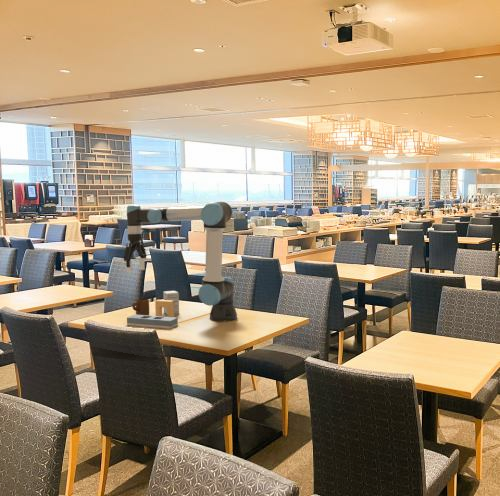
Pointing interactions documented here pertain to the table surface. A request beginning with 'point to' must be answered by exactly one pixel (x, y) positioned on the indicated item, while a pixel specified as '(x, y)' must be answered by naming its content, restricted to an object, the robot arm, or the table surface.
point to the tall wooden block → (165, 304)
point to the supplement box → (173, 297)
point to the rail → (152, 321)
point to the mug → (141, 306)
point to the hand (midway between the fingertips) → (135, 271)
